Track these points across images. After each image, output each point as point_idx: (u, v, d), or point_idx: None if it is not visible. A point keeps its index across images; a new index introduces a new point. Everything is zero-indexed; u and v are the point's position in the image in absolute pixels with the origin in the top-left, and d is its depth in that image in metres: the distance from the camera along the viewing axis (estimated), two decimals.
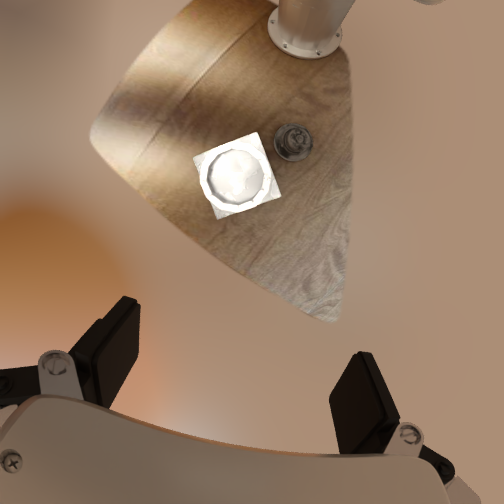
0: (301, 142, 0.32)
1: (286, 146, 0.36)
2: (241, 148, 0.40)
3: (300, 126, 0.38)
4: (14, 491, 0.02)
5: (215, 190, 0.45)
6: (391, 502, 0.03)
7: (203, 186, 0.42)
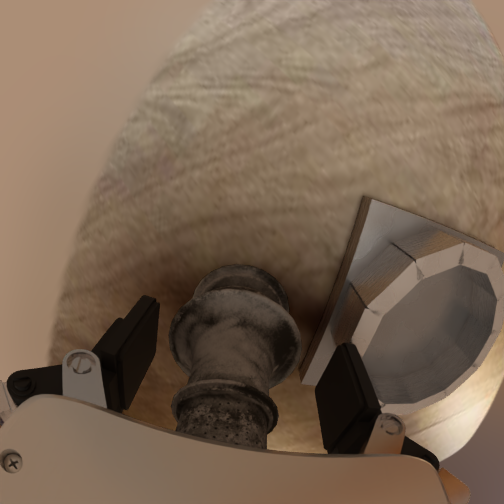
0: None
1: (272, 421, 0.08)
2: None
3: (187, 372, 0.12)
4: (14, 491, 0.02)
5: (466, 315, 0.14)
6: (391, 502, 0.03)
7: (484, 355, 0.12)
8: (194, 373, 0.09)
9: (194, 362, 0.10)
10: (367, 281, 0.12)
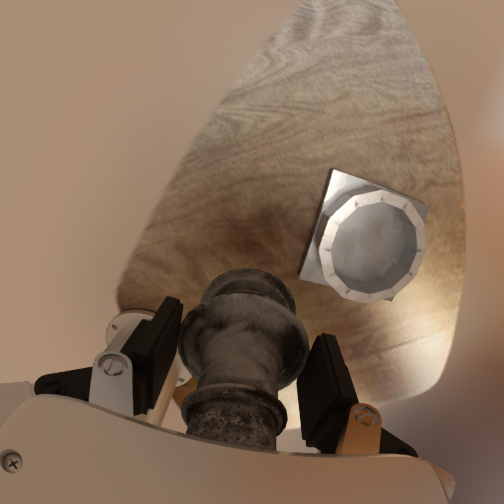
0: None
1: (281, 423, 0.08)
2: (338, 280, 0.25)
3: (195, 375, 0.12)
4: (14, 491, 0.02)
5: (404, 243, 0.26)
6: (391, 502, 0.03)
7: (417, 267, 0.24)
8: (204, 377, 0.09)
9: (203, 366, 0.10)
10: (331, 209, 0.24)
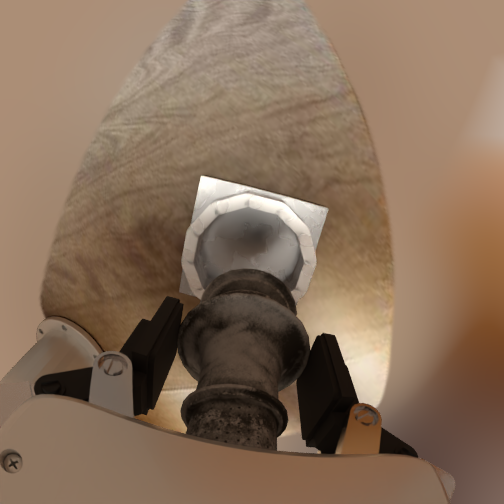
0: None
1: (282, 424, 0.08)
2: None
3: (195, 376, 0.12)
4: (14, 491, 0.02)
5: (296, 254, 0.25)
6: (391, 502, 0.03)
7: (306, 282, 0.23)
8: (204, 377, 0.09)
9: (203, 366, 0.10)
10: None
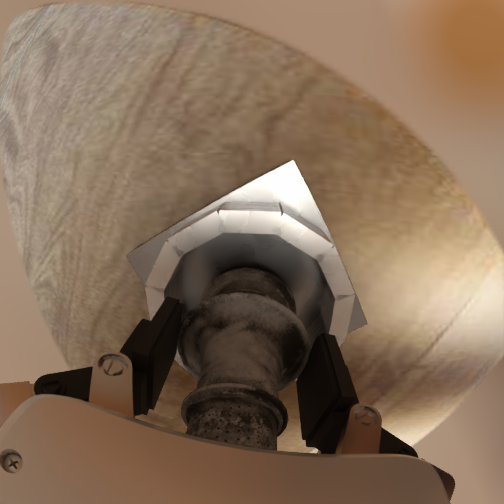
0: None
1: (282, 424, 0.08)
2: None
3: (195, 375, 0.12)
4: (14, 491, 0.02)
5: None
6: (391, 502, 0.03)
7: (344, 280, 0.13)
8: (204, 377, 0.09)
9: (203, 366, 0.10)
10: None
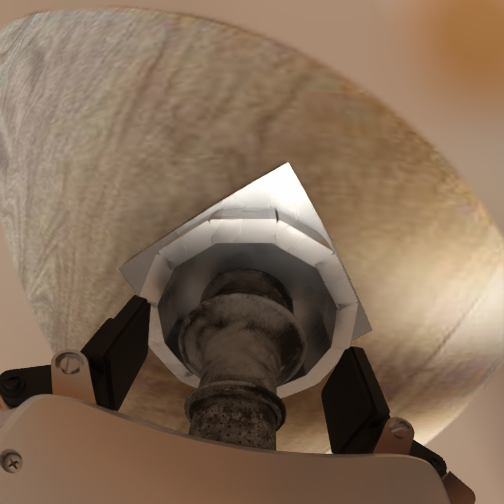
0: None
1: (281, 419, 0.08)
2: None
3: (196, 373, 0.13)
4: (14, 491, 0.02)
5: None
6: (391, 502, 0.03)
7: (346, 288, 0.12)
8: (206, 374, 0.09)
9: (205, 364, 0.10)
10: None
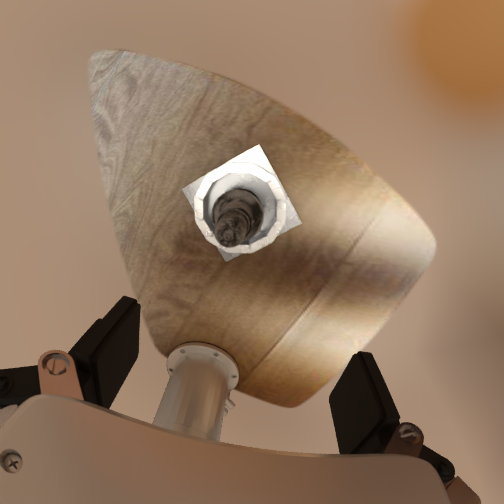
0: (229, 229, 0.24)
1: (249, 225, 0.28)
2: (237, 246, 0.34)
3: None
4: (14, 491, 0.02)
5: (266, 183, 0.33)
6: (391, 502, 0.03)
7: (280, 192, 0.31)
8: None
9: None
10: None
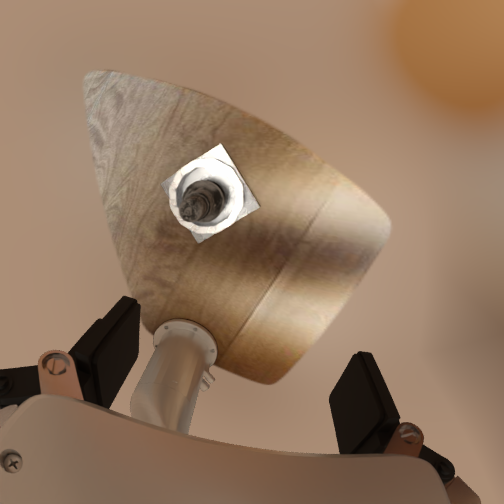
0: (189, 206, 0.31)
1: (208, 206, 0.34)
2: (204, 227, 0.40)
3: None
4: (14, 491, 0.02)
5: (228, 175, 0.40)
6: (391, 502, 0.03)
7: (237, 180, 0.38)
8: None
9: None
10: None
